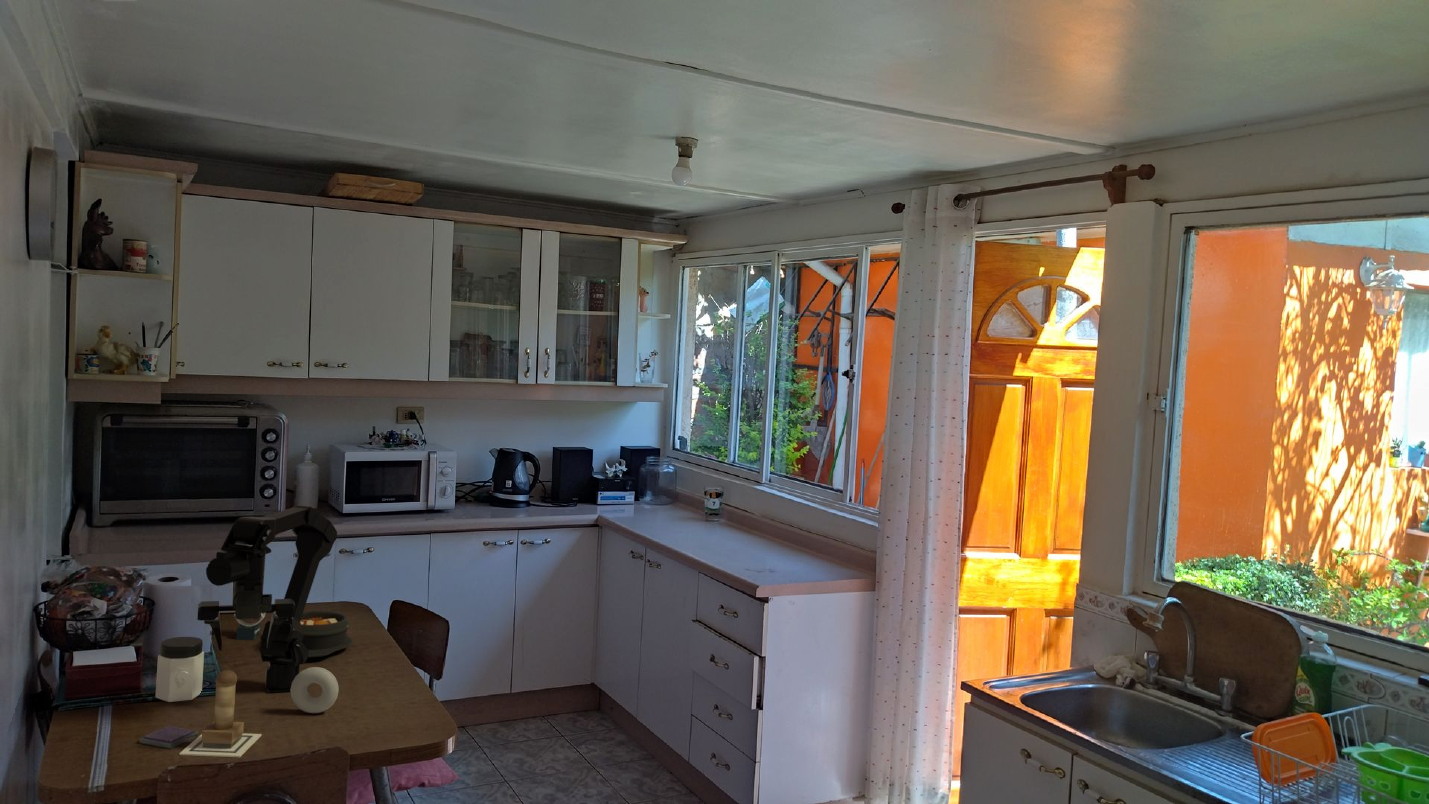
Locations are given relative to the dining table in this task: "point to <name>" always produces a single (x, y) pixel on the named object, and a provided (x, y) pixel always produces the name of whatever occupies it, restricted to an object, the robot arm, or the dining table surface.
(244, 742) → the print card
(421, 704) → the dining table surface
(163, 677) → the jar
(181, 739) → the ink pad
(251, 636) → the watch
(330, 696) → the donut
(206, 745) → the stamp
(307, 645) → the casserole
